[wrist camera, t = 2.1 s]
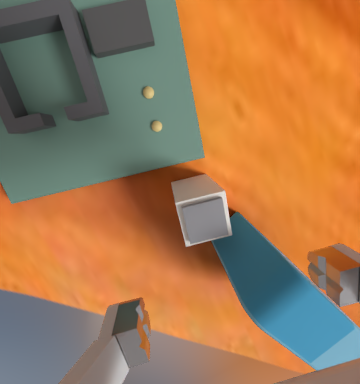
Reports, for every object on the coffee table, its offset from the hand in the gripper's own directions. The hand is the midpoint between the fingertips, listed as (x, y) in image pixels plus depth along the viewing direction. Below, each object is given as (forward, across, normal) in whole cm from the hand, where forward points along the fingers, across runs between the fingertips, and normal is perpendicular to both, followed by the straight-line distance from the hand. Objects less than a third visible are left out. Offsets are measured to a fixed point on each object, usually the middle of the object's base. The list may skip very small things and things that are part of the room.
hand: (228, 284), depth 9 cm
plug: (+14, -1, 0) cm, 14 cm away
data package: (+14, -7, +9) cm, 18 cm away
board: (+14, +7, -12) cm, 20 cm away
